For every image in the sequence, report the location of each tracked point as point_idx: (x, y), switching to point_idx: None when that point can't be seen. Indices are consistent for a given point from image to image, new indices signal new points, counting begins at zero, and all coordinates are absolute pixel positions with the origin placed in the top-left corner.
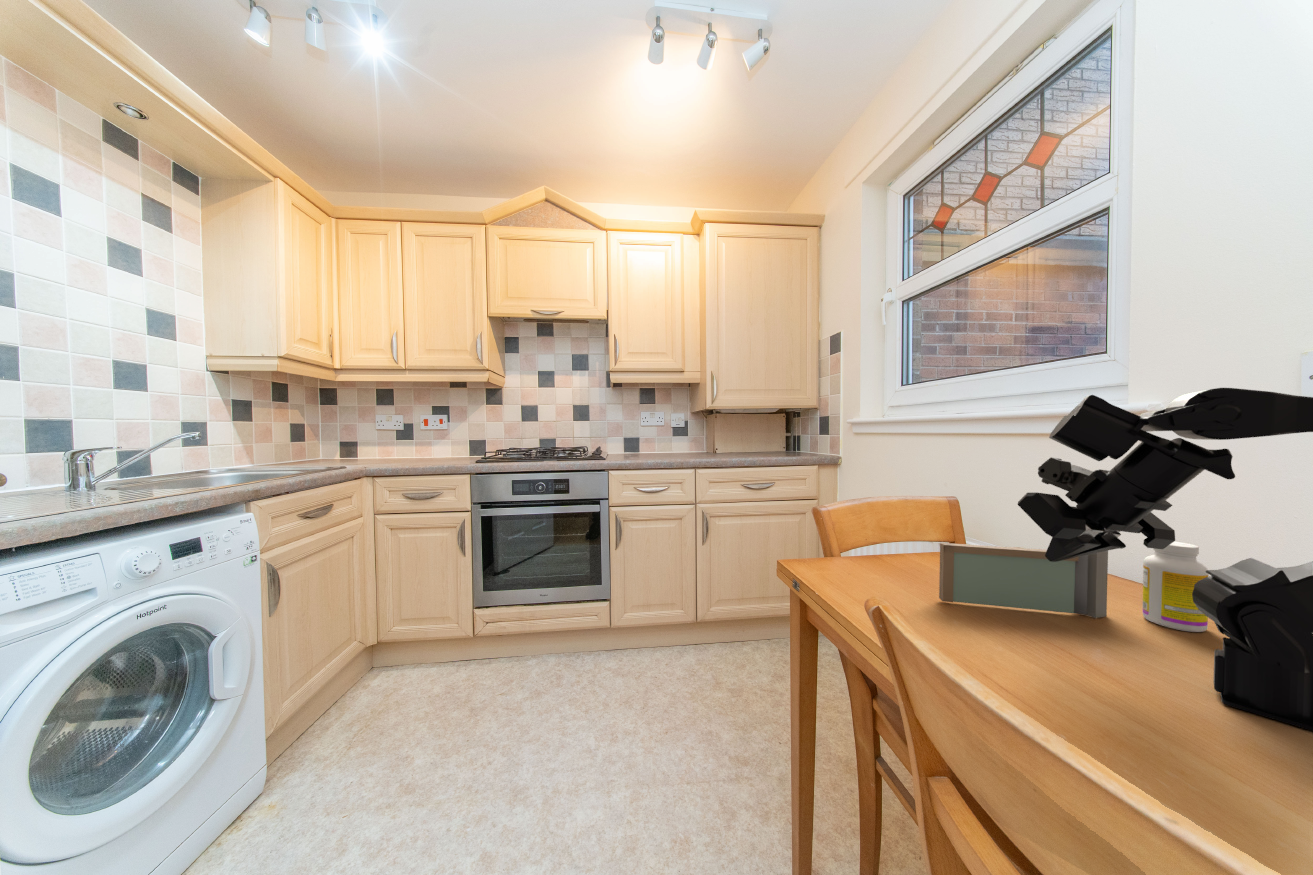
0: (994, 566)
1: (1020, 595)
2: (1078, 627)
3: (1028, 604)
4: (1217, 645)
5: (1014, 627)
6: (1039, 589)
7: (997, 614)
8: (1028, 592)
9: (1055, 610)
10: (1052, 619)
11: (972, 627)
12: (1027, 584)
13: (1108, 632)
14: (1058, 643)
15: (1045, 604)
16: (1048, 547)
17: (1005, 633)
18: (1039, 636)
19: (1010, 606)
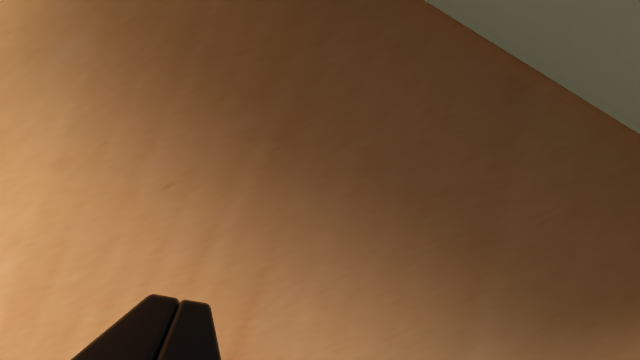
0: None
1: (517, 22)
2: (560, 253)
3: (535, 59)
4: None
5: (271, 161)
6: (613, 55)
7: (348, 44)
8: (556, 35)
9: (631, 125)
10: (543, 160)
11: (92, 104)
12: (571, 12)
13: (635, 331)
14: (279, 323)
15: (603, 96)
16: (77, 358)
17: (166, 188)
18: (277, 254)
19: (465, 24)
